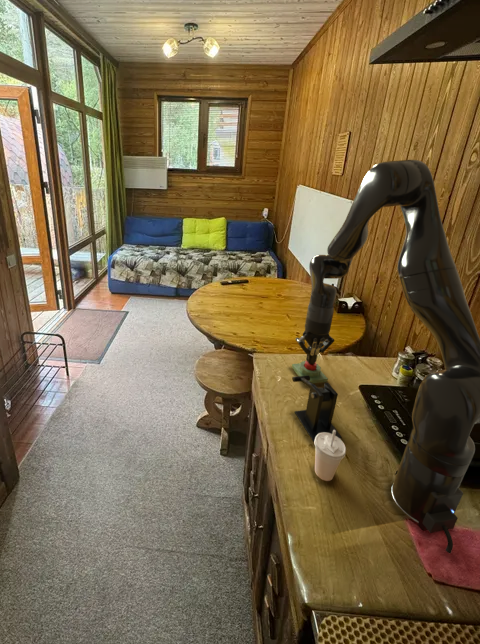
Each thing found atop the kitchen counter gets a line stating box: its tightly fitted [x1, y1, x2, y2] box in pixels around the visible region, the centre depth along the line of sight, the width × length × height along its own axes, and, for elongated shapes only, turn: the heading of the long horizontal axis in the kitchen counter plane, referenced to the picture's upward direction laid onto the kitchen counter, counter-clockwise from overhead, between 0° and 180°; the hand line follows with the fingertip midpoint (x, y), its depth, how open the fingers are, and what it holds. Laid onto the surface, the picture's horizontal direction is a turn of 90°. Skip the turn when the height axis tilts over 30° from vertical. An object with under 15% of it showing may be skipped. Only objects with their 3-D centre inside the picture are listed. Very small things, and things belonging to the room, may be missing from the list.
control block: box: [291, 360, 329, 384], centre depth 103 cm, size 9×8×4 cm
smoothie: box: [313, 429, 347, 482], centre depth 68 cm, size 6×6×14 cm
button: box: [304, 359, 318, 371], centre depth 102 cm, size 4×4×2 cm
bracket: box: [294, 382, 342, 443], centre depth 81 cm, size 10×8×13 cm
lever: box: [291, 375, 330, 402], centre depth 85 cm, size 13×5×2 cm, turn 10°
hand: (310, 362), depth 102 cm, fingers closed
